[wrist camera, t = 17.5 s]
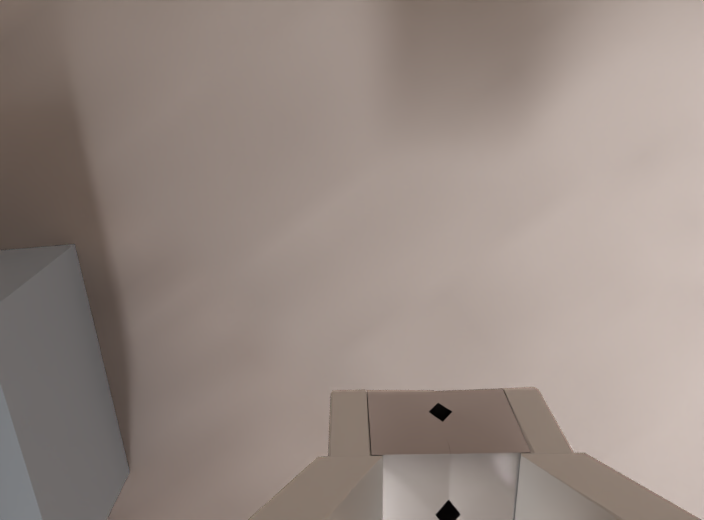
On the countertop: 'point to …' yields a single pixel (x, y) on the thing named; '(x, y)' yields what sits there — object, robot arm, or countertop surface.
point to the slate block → (53, 394)
